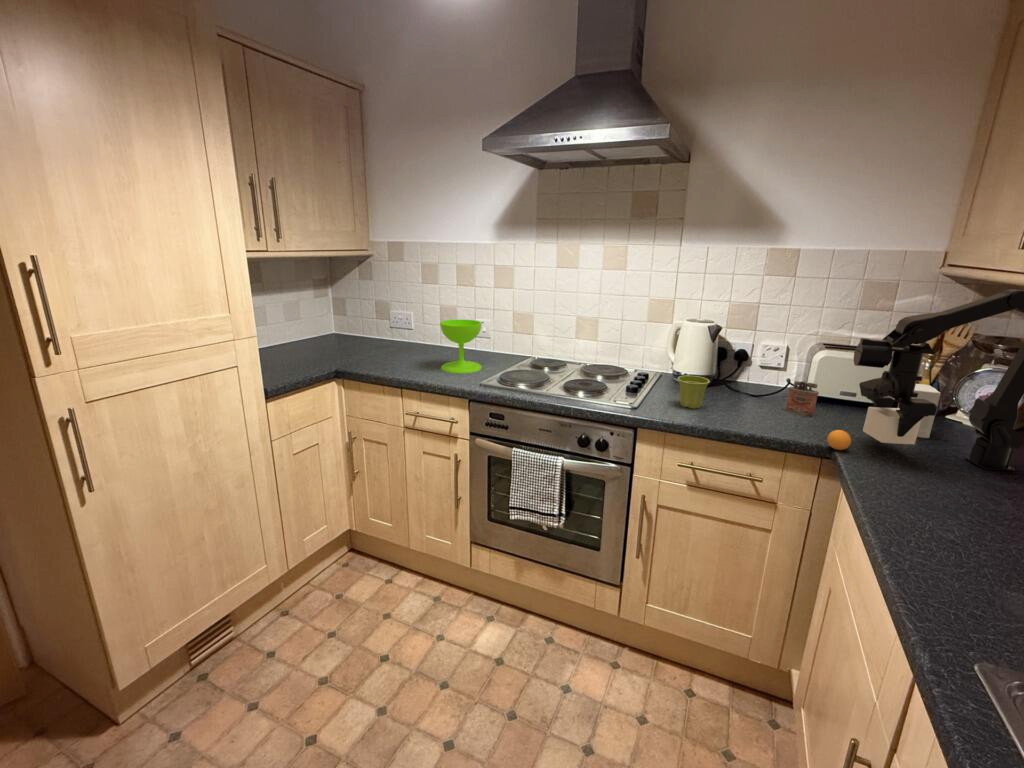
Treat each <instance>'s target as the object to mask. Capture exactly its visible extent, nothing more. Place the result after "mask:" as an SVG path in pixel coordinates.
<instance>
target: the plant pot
mask: <svg viewBox="0 0 1024 768" xmlns="http://www.w3.org/2000/svg"><path fill="white" fill-rule="evenodd" d="M677 381H678V384H679V394H680V395H679V398H680V401H679V403H680V406H682V407H683V408H689V409H699V408H700V407H702V403H703V401H704V396H705V392H706V390H707V389H706V388H707V387H708V384H710V382H711V381H710V380H709V378H706V377H703V376H697V375H680V376H678V377H677Z"/></svg>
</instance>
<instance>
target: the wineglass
mask: <svg viewBox="0 0 1024 768" xmlns="http://www.w3.org/2000/svg"><path fill="white" fill-rule="evenodd" d="M482 323H483V322H481V321H479V320H475V319H461V318H460V319H458V318H457V319H448V320H447V319H446V320H443V321H441V322H439V326H440V330H441V332H442V334H443V335H444V336H445V338H446V339H448V340H449V341H450V342H453V343H455V344H458V360H454V361H449V362H446V363H444V364H443V365H441V368H440V369H441V370H442V371H444V372H446V373H452V374H471V373H476V372H479V371H481V370H482V365H481V364H480V363H478V362H476V361H470V360H468V361H467V360H465V356H464V353H465V351H464V346H465V345H464V344H467V343H470V342H472V341H473V340H474V339H476V338H477V337H478V335H480V332H481V329H482Z"/></svg>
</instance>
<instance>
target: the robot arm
mask: <svg viewBox="0 0 1024 768" xmlns="http://www.w3.org/2000/svg"><path fill="white" fill-rule="evenodd" d="M1013 310H1015V311H1017V312H1019V313H1023V314H1024V290H1019V289H1013V288H1012V289H1011V288H1010V289H1005V290H1003V291H1001V292H999V293H995V294H993V295H992V294H991V295H990V296H987V297H983V298H981V299H977V300H975V301H974V300H973V301H970V302H968V303H964V304H962V305H958V306H955V307H952V308H948V309H946V310H942V311H937V312H930V313H929V312H928V313H919V314H916V315H909V316H905V317H903V318H901V319H900V320H898V322H897V323H896V325H895V328H894V329H893V330H892V331H891V332H889V333H888V334H886V335H885V336H884V337H883V338H882V339H871V338H868V337H867V338H866V337H861V338H860V340H859V343H858V344H857V346H856V348H855V349H854V351H853V352H854V353H853V363H854V366H856V367H867V368H878V369H879V368H880V369H883V368H884V367H885V366H886V367H888V366H889V368H888V370H884V371H883V372H882V375H881V377H878V378H873V379H869V380H865V381H862V382H859V383H858V384H859V389H860V396H862V397H865V398H866V399H868V400H870V401H871V402H872V405H873V407H882V408H893V405H894V404H895V402H897V403H899V409H900V410H896V412H897V413H898V414H899V416H900V418H899V425H898V434H897V436H899V437H903V436H904V435H905V434H906V433H907V432H908V431H909V430H910V429H911V428H912V427H913V426H914V425H915V424H916V423H918V422H919V421H920V420H921V419H922V418H924V417H925V416H926V417H928V416H936V415H937V412H938V406H936V405H935V404H934V403H932V402H930V401H928V400H925V399H911V397H917V396H918V393H916V392H914V390H915V386H916V384H917V382H922V380H923V376H921V375H919V373H920V369H921V365H922V361H923V358H924V355H925V354H927V355H935V354H936V353H937V352H936V350H934V349H933V348H932V347H931V344H930V343H928V342H929V341H931V340H933V339H935V338H938V337H940V336H941V335H942V334H944V333H946V332H947V331H950V330H951V329H953V328H958V327H960V326H961V327H962V326H965V325H967V324H971V323H973V322H977V321H980V320H984V319H987V318H990V317H993V316H996V315H999V314H1003V313H1006V312H1009V311H1013ZM1013 357H1014V358H1013V359H1012V361H1011V362H1010V364H1009V365H1008V367H1007V369H1006V371H1005V372H1004V374H1003V375H1002V377H1001V379H1000V381H999V382H998V383H997V386H996V388H995V389H994V391H993V393H991V395H989V396H988V397H986V398H985V399H982V398H981V397H980V398H979V397H977V398H976V399H975V401H974V403H973V405H972V407H971V409H969V410H967V413H968V414H969V416H968V421H969V422H970V425H971V426H972V427H973V428H974V431H975V434H977V435H979V436H980V437H976V439H975V443H973V444H972V447H971V452H970V455H969V456H964V459H965V460H967V461H969V462H971V464H972V463H973V464H974V465H976V466H979V467H980V468H982V469H984V470H987V471H989V470H990V471H1008V472H1009V471H1010V472H1015V468H1014V467H1011V466H1010V463H1011V460H1012V457H1013V455H1014V450H1018V449H1020V448H1021V447H1022V445H1023V444H1024V439H1023V438H1022V436H1020V435H1019V434H1018V433H1017V432H1016V430H1015V429H1014V428H1015V426H1016V424H1017V422H1018V421H1017V420H1018V418H1019V403H1020V401H1021V400H1022V398H1023V397H1024V341H1023V342H1022V344H1021V346H1020V347H1019V349H1018V350H1017V352H1016V354H1015V356H1013ZM900 398H901V399H900Z"/></svg>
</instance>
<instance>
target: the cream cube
mask: <svg viewBox="0 0 1024 768" xmlns="http://www.w3.org/2000/svg"><path fill="white" fill-rule="evenodd" d="M896 410H900V409H899V408H898V407H891V408H882V407H874V406H868V408H867V412H866V416H865V421H864V423H863V424H864V425H863V428H862V432H863V433H864V434H867V435H869V436H870V437H872V438H873V439H875V440H876V441H879V442H880V443H882V444H883V443H884V444H898V445H915V444H916V440H917V438H918V437H917V434H918V430H919V427H920V423H921V420H922V419H921V420H920V421H919V422H918V423H916V424H915V425H914V426H913V427H912V428H911V429H910V430H909V431H908V432H907V433H906V434H905V435H904V436H903V437H899V436H897V434H898V425H899V418H900V416H899V414H898V413H897V412H896Z"/></svg>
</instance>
